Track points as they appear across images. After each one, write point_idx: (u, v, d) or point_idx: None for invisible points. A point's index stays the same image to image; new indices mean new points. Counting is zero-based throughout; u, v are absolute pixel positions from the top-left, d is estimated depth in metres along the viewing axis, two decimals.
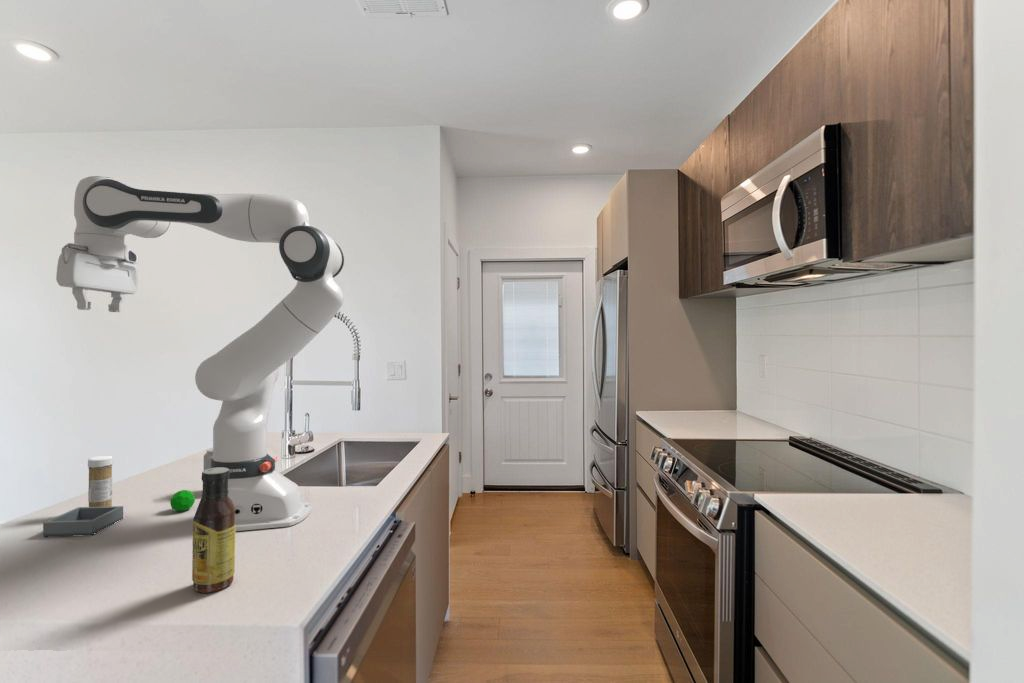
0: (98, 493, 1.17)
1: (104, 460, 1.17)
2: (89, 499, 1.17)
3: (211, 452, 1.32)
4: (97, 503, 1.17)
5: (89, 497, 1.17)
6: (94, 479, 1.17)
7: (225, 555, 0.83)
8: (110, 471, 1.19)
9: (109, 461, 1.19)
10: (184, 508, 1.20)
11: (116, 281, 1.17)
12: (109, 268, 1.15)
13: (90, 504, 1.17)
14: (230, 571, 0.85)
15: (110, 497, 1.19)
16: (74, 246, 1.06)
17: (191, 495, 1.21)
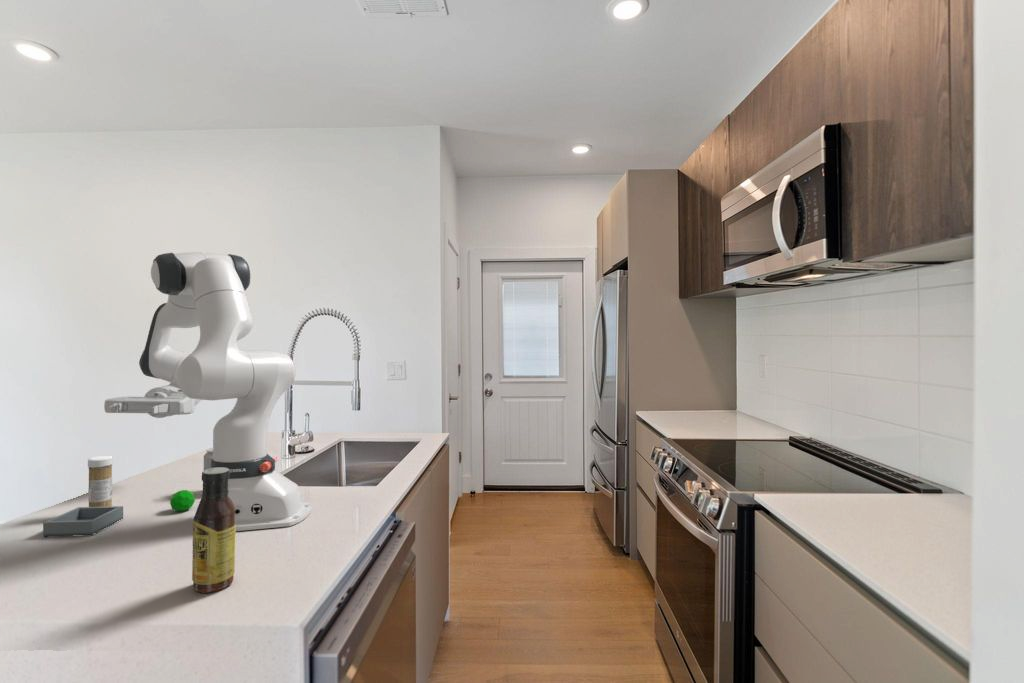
0: (98, 493, 1.17)
1: (104, 460, 1.17)
2: (89, 499, 1.17)
3: (211, 452, 1.32)
4: (97, 503, 1.17)
5: (89, 497, 1.17)
6: (93, 479, 1.17)
7: (225, 555, 0.83)
8: (110, 471, 1.19)
9: (109, 461, 1.19)
10: (184, 508, 1.20)
11: (159, 399, 1.37)
12: (157, 398, 1.40)
13: (90, 504, 1.17)
14: (230, 571, 0.85)
15: (110, 497, 1.19)
16: None
17: (191, 495, 1.21)
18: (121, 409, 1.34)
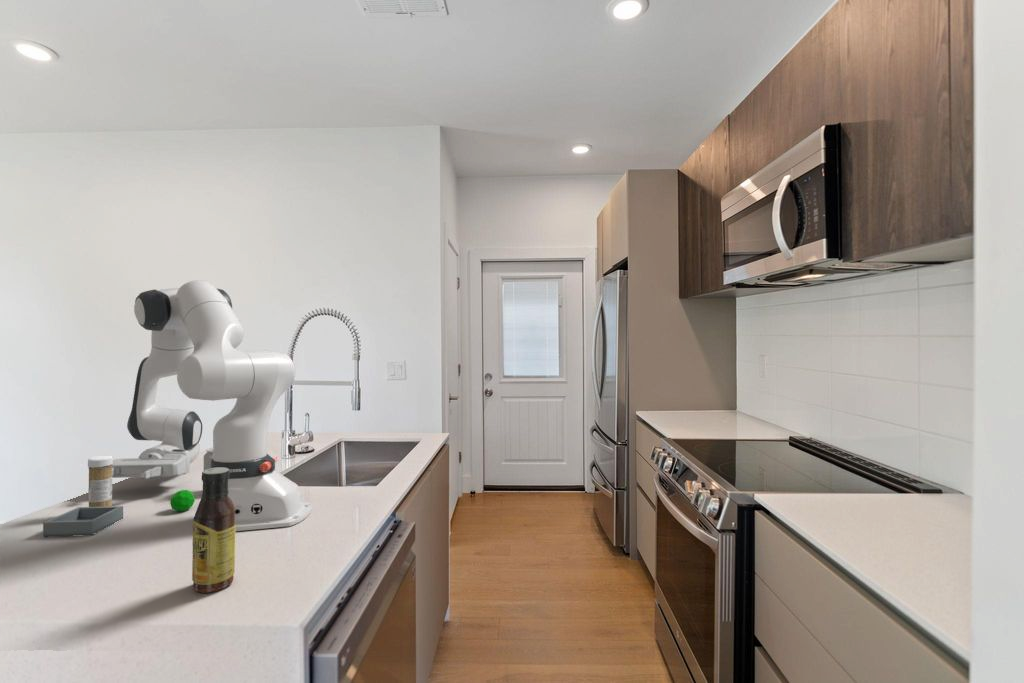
0: (98, 493, 1.17)
1: (104, 460, 1.17)
2: (89, 499, 1.17)
3: (211, 452, 1.32)
4: (97, 503, 1.17)
5: (89, 497, 1.17)
6: (94, 479, 1.17)
7: (225, 555, 0.83)
8: (110, 471, 1.19)
9: (109, 461, 1.19)
10: (184, 508, 1.20)
11: (152, 461, 1.34)
12: (151, 460, 1.36)
13: (90, 504, 1.17)
14: (230, 571, 0.85)
15: (110, 497, 1.19)
16: None
17: (191, 495, 1.21)
18: (113, 474, 1.30)
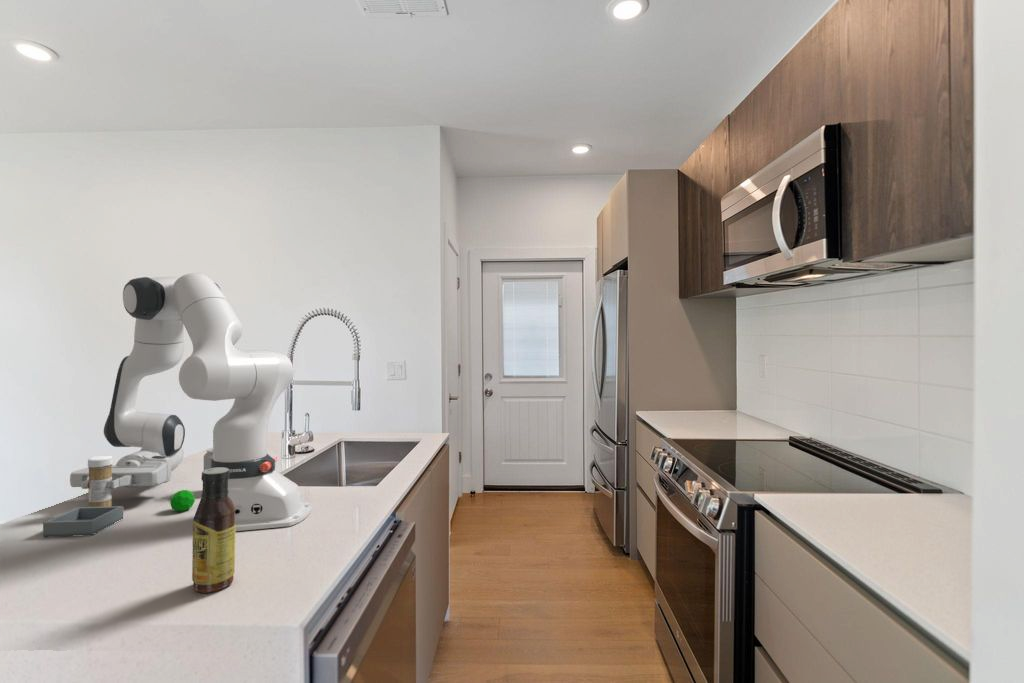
0: (98, 493, 1.17)
1: (104, 460, 1.17)
2: (89, 499, 1.17)
3: (211, 452, 1.32)
4: (97, 503, 1.17)
5: (89, 497, 1.17)
6: (93, 479, 1.17)
7: (225, 555, 0.83)
8: (110, 471, 1.19)
9: (109, 461, 1.19)
10: (184, 508, 1.20)
11: (130, 469, 1.25)
12: (129, 467, 1.28)
13: (90, 504, 1.17)
14: (230, 571, 0.85)
15: (110, 497, 1.19)
16: None
17: (191, 495, 1.21)
18: None
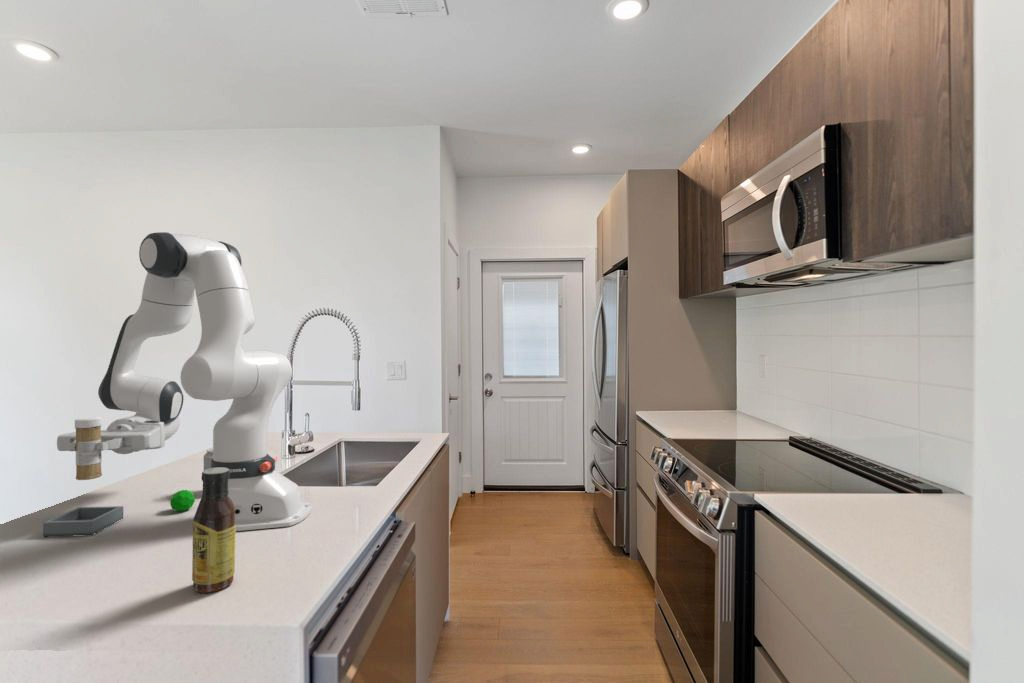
0: (86, 455, 1.09)
1: (92, 420, 1.10)
2: (76, 462, 1.09)
3: (211, 452, 1.32)
4: (85, 466, 1.09)
5: (76, 460, 1.09)
6: (81, 440, 1.09)
7: (225, 555, 0.83)
8: (98, 433, 1.12)
9: (98, 422, 1.11)
10: (184, 508, 1.20)
11: (121, 432, 1.18)
12: (120, 432, 1.20)
13: (78, 467, 1.09)
14: (230, 571, 0.85)
15: (99, 460, 1.12)
16: None
17: (191, 495, 1.21)
18: None
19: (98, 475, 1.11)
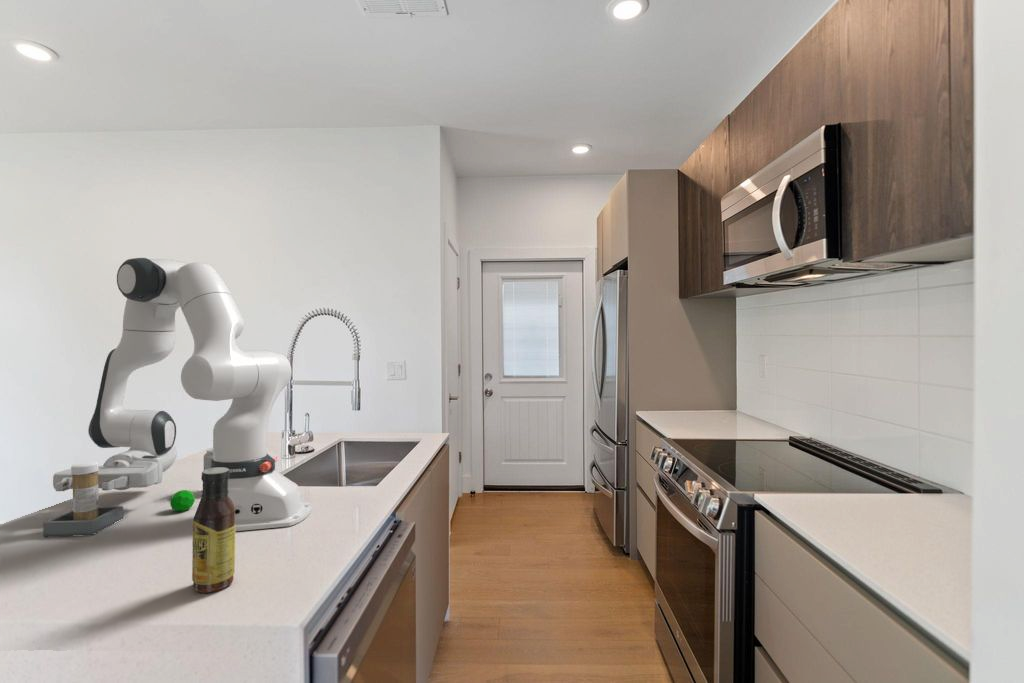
0: (83, 502, 1.08)
1: (89, 467, 1.09)
2: (74, 509, 1.08)
3: (211, 452, 1.32)
4: (82, 513, 1.08)
5: (73, 507, 1.08)
6: (78, 487, 1.08)
7: (225, 555, 0.83)
8: (96, 478, 1.10)
9: (94, 468, 1.10)
10: (184, 508, 1.20)
11: (118, 470, 1.16)
12: (117, 468, 1.19)
13: (75, 515, 1.08)
14: (230, 571, 0.85)
15: (97, 506, 1.10)
16: None
17: (191, 495, 1.21)
18: (72, 484, 1.13)
19: None
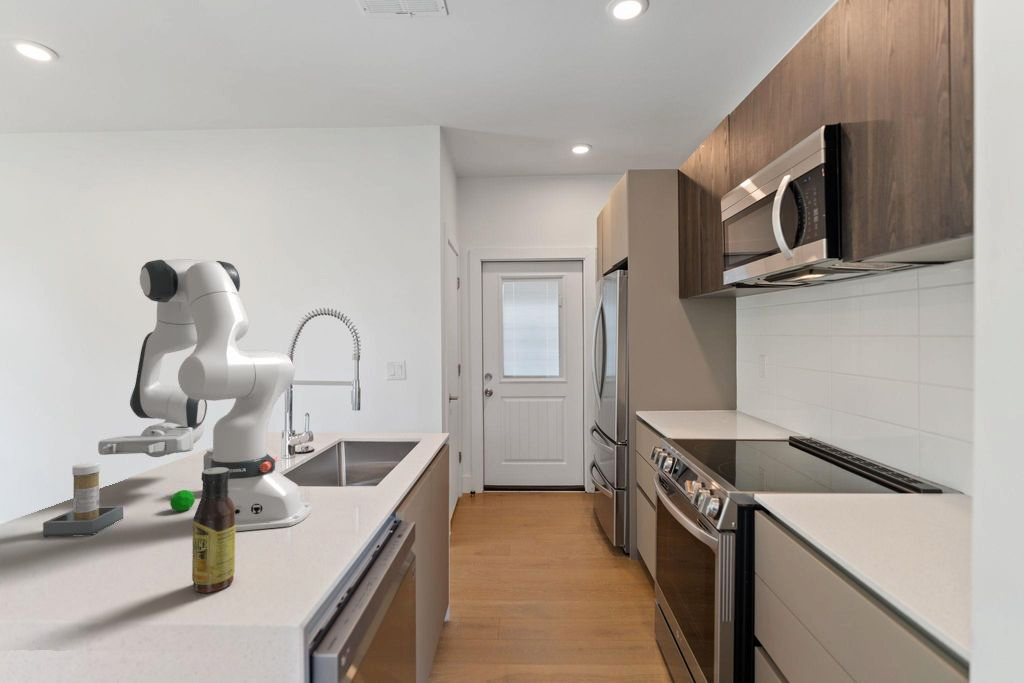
0: (84, 503, 1.08)
1: (90, 467, 1.09)
2: (74, 509, 1.08)
3: (211, 452, 1.32)
4: (82, 514, 1.08)
5: (74, 507, 1.08)
6: (79, 488, 1.08)
7: (225, 555, 0.83)
8: (97, 479, 1.10)
9: (96, 468, 1.10)
10: (184, 508, 1.20)
11: (155, 437, 1.30)
12: (153, 436, 1.32)
13: (76, 515, 1.08)
14: (230, 571, 0.85)
15: (97, 507, 1.10)
16: None
17: (191, 495, 1.21)
18: (116, 450, 1.26)
19: None
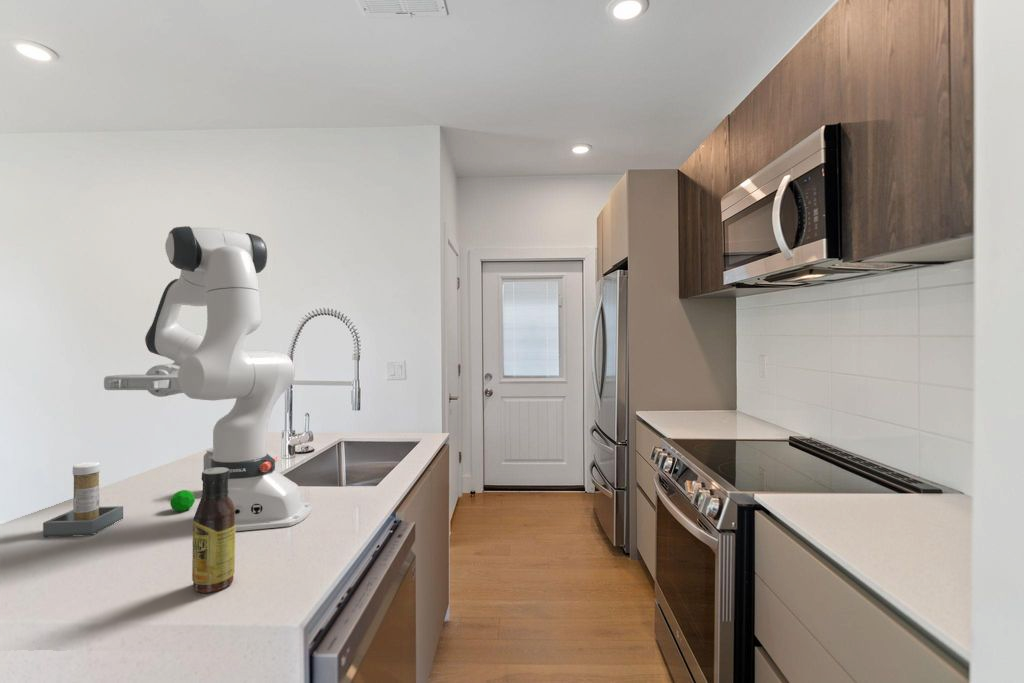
0: (84, 503, 1.08)
1: (90, 467, 1.09)
2: (74, 509, 1.08)
3: (211, 452, 1.32)
4: (83, 514, 1.08)
5: (74, 507, 1.08)
6: (79, 488, 1.08)
7: (225, 555, 0.83)
8: (97, 479, 1.10)
9: (96, 468, 1.10)
10: (184, 508, 1.20)
11: None
12: (158, 375, 1.35)
13: (76, 515, 1.08)
14: (230, 571, 0.85)
15: (97, 507, 1.10)
16: None
17: (191, 495, 1.21)
18: (121, 386, 1.29)
19: None
